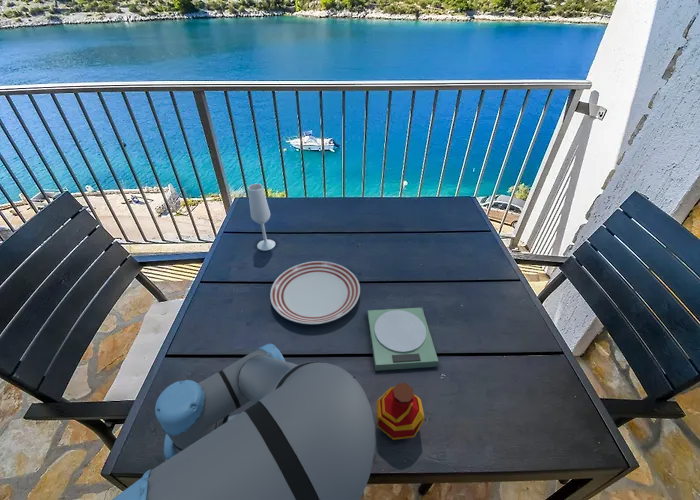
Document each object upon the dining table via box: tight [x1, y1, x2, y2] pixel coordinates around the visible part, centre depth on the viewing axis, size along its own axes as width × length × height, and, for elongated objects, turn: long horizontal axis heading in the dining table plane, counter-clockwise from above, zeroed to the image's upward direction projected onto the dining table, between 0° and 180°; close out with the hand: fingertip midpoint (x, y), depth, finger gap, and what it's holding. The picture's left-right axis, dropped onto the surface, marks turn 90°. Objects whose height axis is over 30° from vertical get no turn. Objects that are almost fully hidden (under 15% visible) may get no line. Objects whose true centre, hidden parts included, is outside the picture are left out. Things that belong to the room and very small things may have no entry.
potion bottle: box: [376, 382, 426, 441], centre depth 73 cm, size 10×10×15 cm
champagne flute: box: [247, 183, 276, 252], centre depth 121 cm, size 7×7×24 cm
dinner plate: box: [269, 260, 361, 325], centre depth 108 cm, size 28×27×3 cm
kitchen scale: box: [366, 307, 439, 372], centre depth 95 cm, size 18×16×3 cm
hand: (361, 411), depth 70 cm, fingers open, 13 cm apart
